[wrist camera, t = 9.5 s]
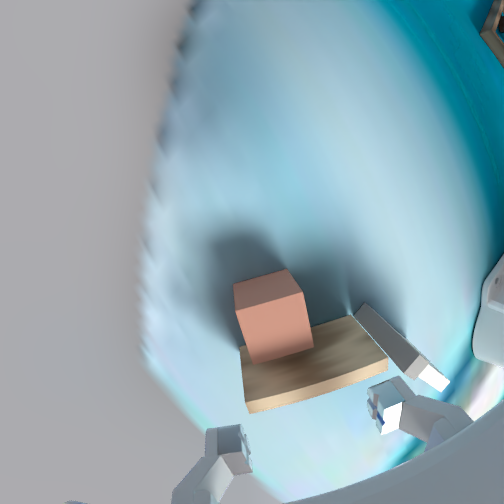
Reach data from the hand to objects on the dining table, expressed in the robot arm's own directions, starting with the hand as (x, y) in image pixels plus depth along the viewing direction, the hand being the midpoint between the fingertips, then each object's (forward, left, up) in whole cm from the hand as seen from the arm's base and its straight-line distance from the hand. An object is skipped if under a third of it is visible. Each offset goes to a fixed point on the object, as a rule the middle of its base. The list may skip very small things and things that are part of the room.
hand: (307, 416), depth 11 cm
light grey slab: (-4, +11, -13) cm, 18 cm away
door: (+1, +5, -13) cm, 13 cm away
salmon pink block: (0, 0, -13) cm, 13 cm away
